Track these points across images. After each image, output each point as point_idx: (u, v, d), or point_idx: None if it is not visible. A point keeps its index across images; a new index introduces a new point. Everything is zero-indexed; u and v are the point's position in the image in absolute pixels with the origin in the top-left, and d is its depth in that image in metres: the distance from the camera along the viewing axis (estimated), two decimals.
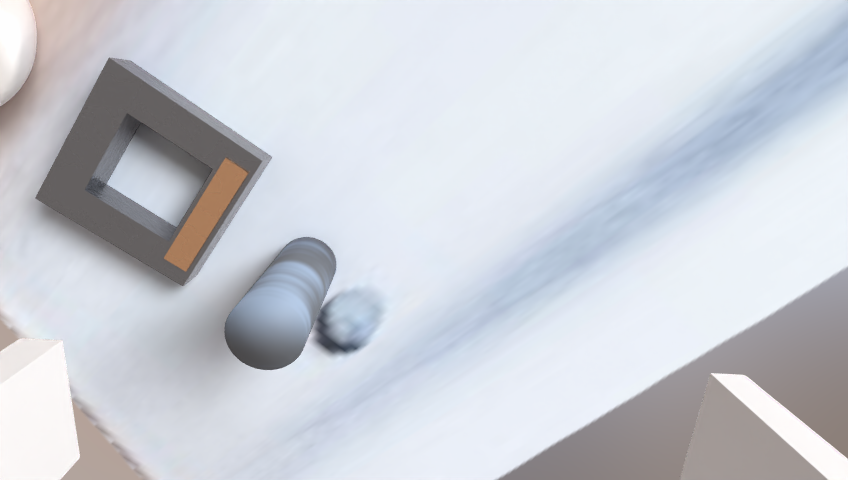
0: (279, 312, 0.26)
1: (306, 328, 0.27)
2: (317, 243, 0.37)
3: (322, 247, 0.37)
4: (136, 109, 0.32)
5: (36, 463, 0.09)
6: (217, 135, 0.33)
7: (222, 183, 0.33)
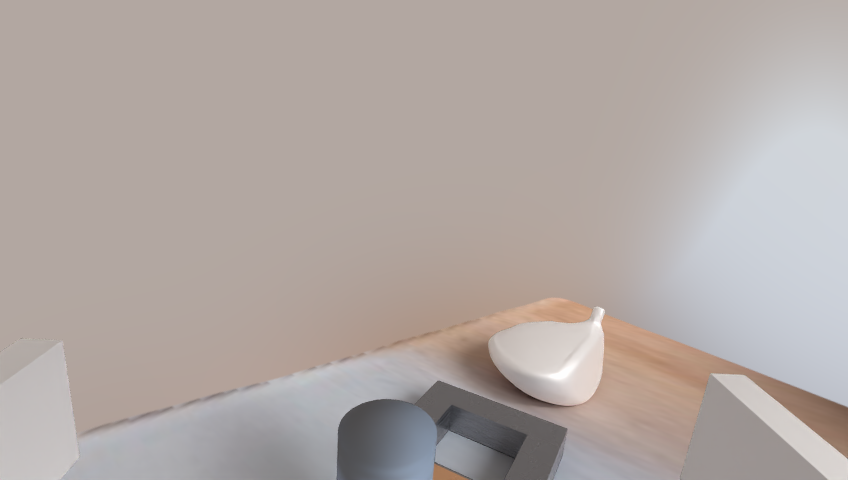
0: (418, 442, 0.21)
1: (395, 471, 0.20)
2: None
3: None
4: (533, 440, 0.36)
5: (36, 463, 0.09)
6: None
7: None
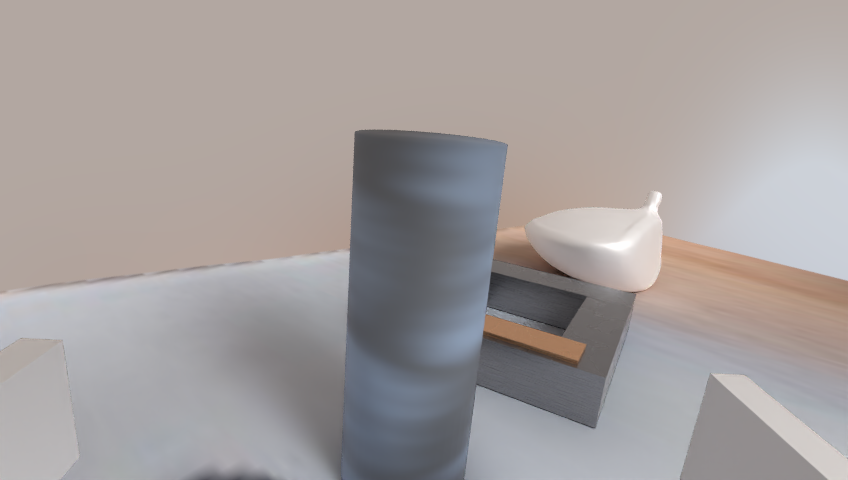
0: (480, 143, 0.13)
1: (448, 158, 0.12)
2: (464, 468, 0.17)
3: (459, 474, 0.16)
4: (595, 300, 0.28)
5: (36, 463, 0.09)
6: (612, 344, 0.23)
7: (547, 339, 0.22)
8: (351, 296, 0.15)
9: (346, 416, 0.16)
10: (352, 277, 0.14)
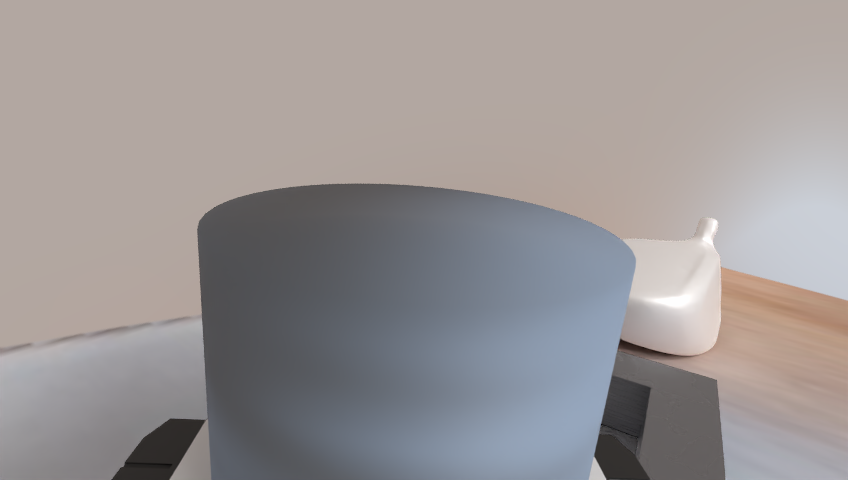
0: (562, 251, 0.05)
1: (478, 347, 0.03)
2: None
3: None
4: (665, 396, 0.19)
5: None
6: None
7: None
8: None
9: None
10: None
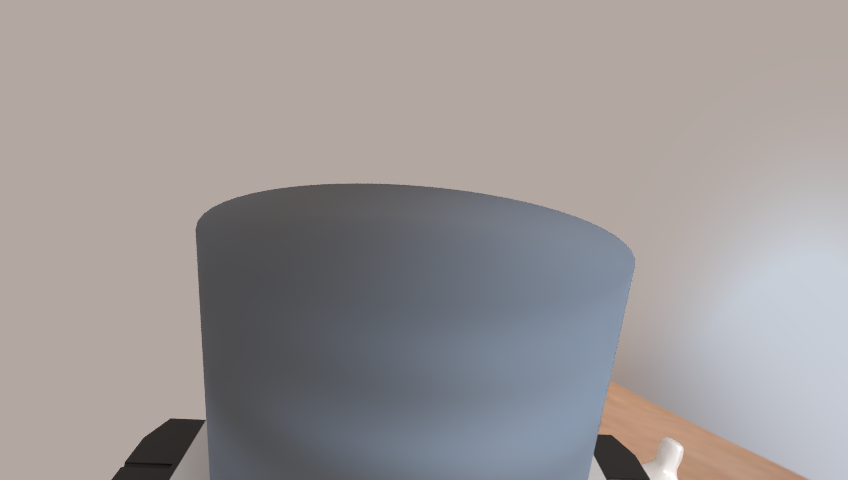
0: (560, 250, 0.05)
1: (477, 347, 0.03)
2: None
3: None
4: None
5: None
6: None
7: None
8: None
9: None
10: None
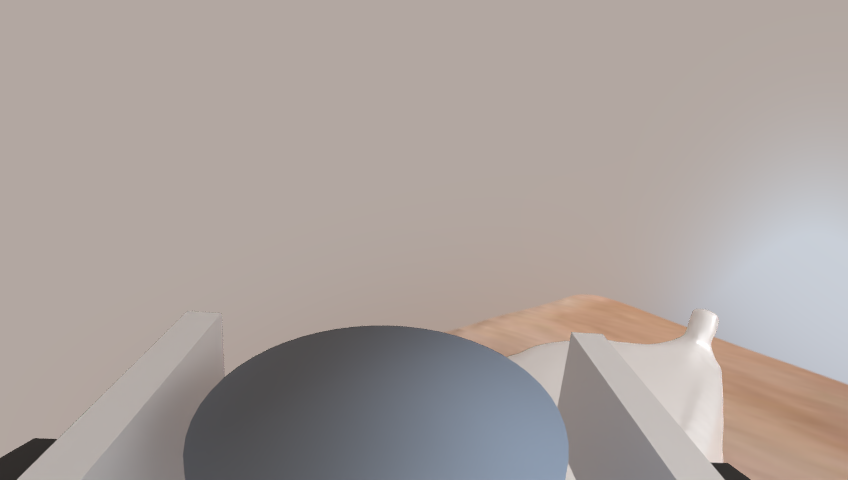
0: (504, 452, 0.05)
1: None
2: None
3: None
4: None
5: None
6: None
7: None
8: None
9: None
10: None
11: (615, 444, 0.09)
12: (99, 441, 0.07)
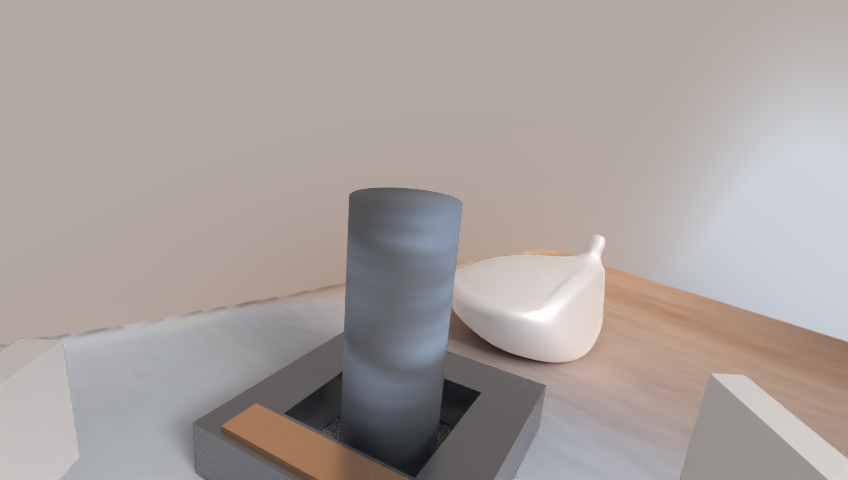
0: (442, 205, 0.18)
1: (416, 220, 0.17)
2: (434, 447, 0.21)
3: (430, 450, 0.21)
4: (489, 400, 0.22)
5: (36, 463, 0.09)
6: None
7: None
8: (347, 316, 0.19)
9: (343, 407, 0.21)
10: (347, 302, 0.19)
11: None
12: None
